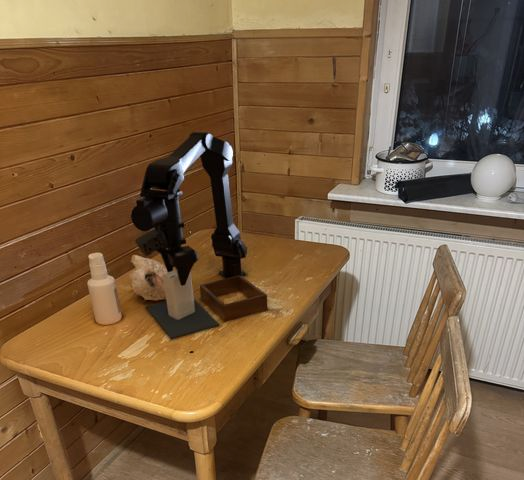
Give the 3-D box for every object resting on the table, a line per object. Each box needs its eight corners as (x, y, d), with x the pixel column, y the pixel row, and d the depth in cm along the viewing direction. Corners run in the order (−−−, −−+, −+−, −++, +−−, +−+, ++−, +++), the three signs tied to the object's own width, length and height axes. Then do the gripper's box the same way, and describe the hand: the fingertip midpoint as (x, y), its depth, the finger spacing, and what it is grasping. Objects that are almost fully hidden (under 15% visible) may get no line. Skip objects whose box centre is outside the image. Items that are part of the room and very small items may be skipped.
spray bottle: (127, 315, 136) (114, 251, 127) (112, 326, 131) (99, 261, 121) (105, 311, 138) (91, 249, 129) (90, 323, 133) (75, 258, 123)
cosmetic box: (185, 308, 138) (180, 266, 131) (196, 313, 135) (191, 270, 128) (167, 316, 134) (161, 273, 127) (178, 321, 131) (172, 278, 125)
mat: (146, 308, 140) (145, 306, 139) (189, 297, 145) (189, 295, 144) (171, 339, 125) (170, 337, 124) (219, 325, 130) (219, 323, 129)
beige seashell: (178, 316, 148) (184, 298, 143) (128, 315, 142) (132, 295, 137) (168, 274, 159) (173, 255, 153) (121, 271, 153) (125, 251, 147)
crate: (200, 299, 143) (199, 284, 141) (241, 289, 148) (240, 274, 146) (224, 322, 131) (223, 306, 129) (267, 309, 137) (267, 294, 134)
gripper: (124, 214, 125) (134, 273, 133) (148, 235, 110) (158, 300, 119) (167, 207, 129) (174, 264, 137) (195, 226, 115) (202, 289, 123)
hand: (176, 278), depth 129 cm, fingers open, 9 cm apart
